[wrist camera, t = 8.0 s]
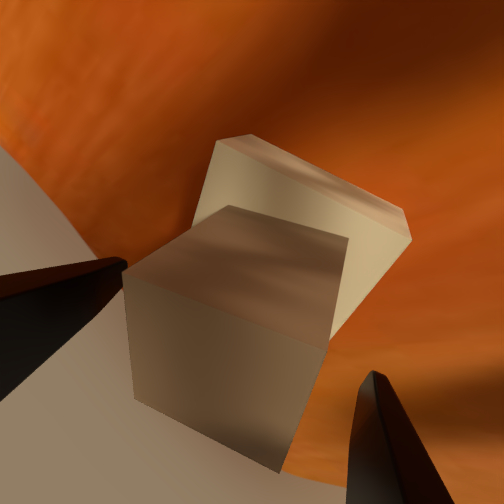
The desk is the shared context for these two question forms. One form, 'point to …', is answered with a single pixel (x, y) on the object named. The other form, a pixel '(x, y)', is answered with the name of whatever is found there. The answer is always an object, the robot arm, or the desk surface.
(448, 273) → the desk surface
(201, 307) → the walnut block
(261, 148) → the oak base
